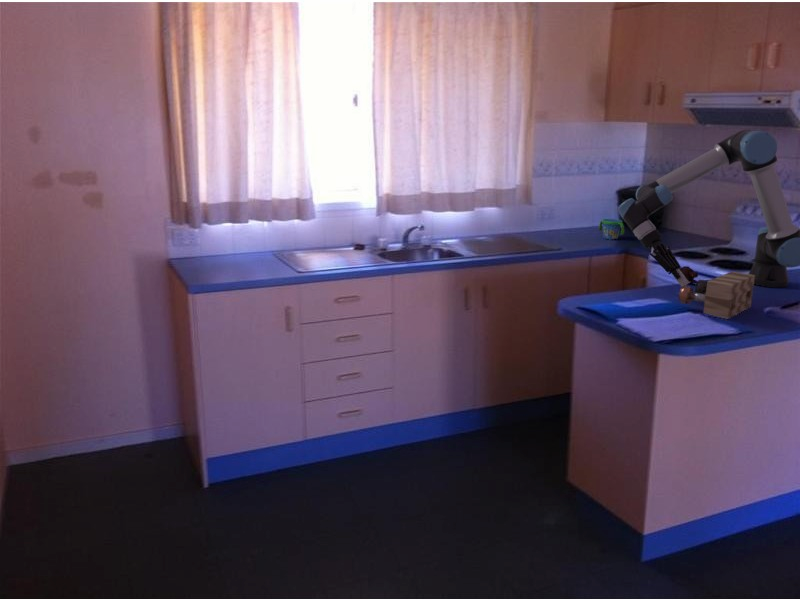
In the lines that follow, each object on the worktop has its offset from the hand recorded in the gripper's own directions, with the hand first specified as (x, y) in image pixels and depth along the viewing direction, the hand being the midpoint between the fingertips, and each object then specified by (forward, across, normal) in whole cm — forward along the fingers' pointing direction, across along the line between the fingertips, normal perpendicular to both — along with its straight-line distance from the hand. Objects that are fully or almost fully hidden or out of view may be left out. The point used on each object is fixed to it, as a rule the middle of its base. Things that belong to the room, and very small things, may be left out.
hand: (685, 285), depth 266 cm
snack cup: (-54, -94, -61) cm, 124 cm away
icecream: (-4, -25, -12) cm, 28 cm away
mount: (+17, +7, +9) cm, 20 cm away
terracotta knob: (+9, +14, +5) cm, 17 cm away
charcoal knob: (+9, 0, +5) cm, 11 cm away
